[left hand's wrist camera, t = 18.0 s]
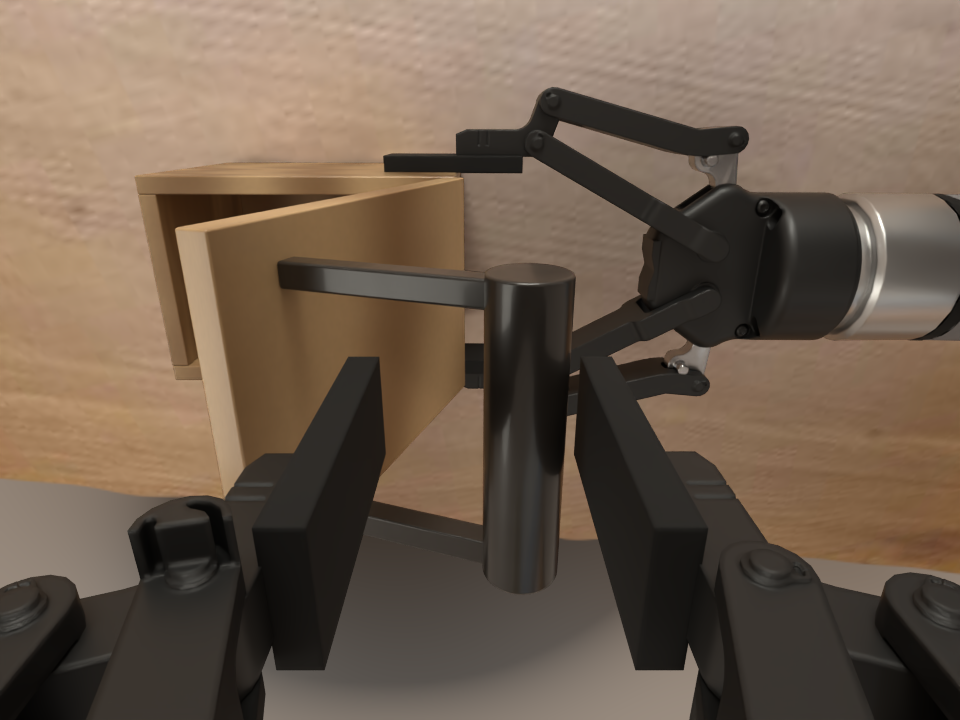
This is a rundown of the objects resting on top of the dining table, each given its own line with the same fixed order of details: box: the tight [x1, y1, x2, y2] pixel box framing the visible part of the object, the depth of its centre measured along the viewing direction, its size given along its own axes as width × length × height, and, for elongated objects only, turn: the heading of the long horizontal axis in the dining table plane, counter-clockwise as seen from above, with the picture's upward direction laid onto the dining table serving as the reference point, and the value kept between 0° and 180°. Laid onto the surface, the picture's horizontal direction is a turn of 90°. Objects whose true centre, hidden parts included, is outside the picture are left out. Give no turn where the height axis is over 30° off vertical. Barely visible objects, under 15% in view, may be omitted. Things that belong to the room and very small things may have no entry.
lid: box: [175, 177, 576, 595], centre depth 19 cm, size 15×10×8 cm
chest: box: [135, 163, 461, 380], centre depth 32 cm, size 14×10×10 cm
